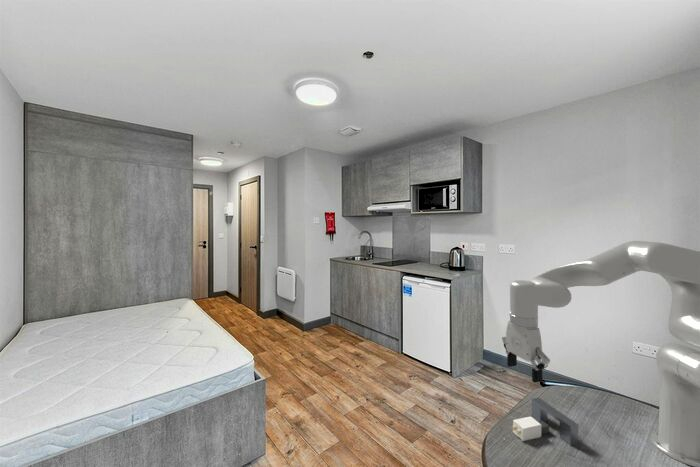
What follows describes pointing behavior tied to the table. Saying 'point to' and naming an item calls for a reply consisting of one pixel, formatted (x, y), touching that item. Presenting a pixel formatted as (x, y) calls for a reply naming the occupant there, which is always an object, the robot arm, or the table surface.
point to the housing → (566, 425)
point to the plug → (529, 428)
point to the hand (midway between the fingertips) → (524, 373)
